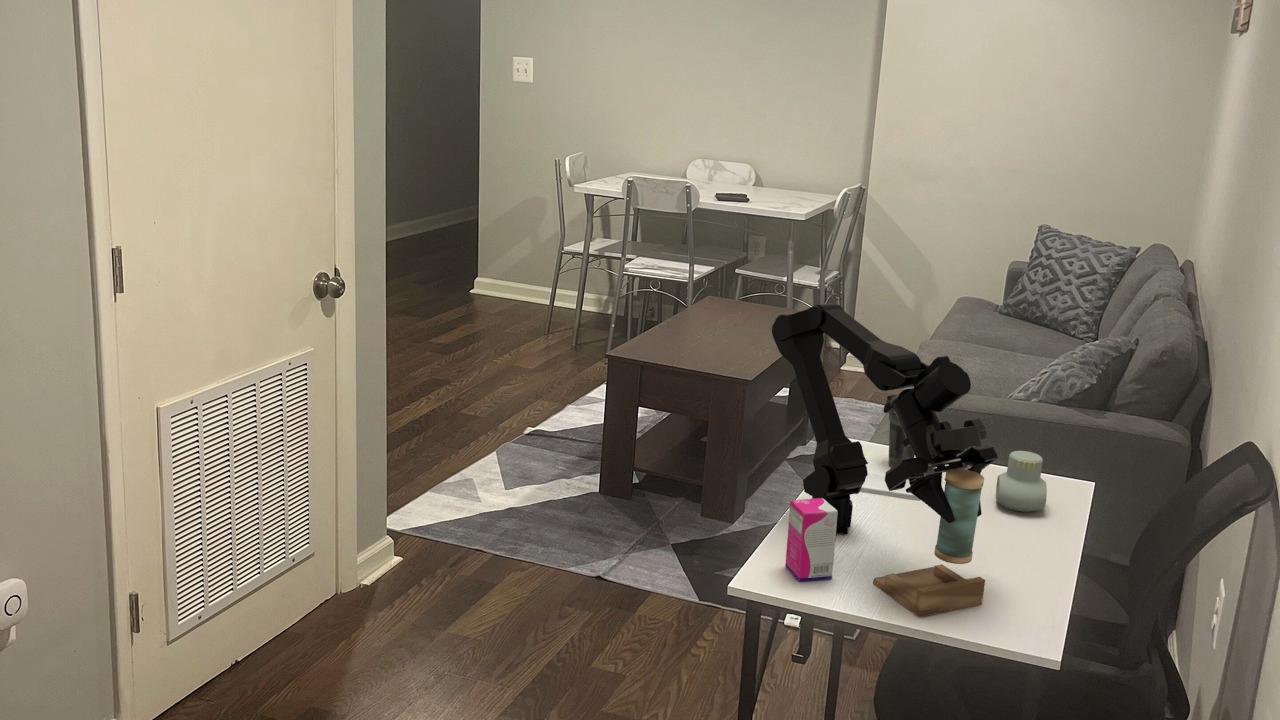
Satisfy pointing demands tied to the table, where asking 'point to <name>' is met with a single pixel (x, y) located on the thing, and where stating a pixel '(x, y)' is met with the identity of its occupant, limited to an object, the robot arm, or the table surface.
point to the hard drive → (885, 488)
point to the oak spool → (959, 516)
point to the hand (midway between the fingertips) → (965, 519)
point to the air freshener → (1022, 483)
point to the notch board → (932, 590)
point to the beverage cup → (897, 442)
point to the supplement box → (811, 539)
